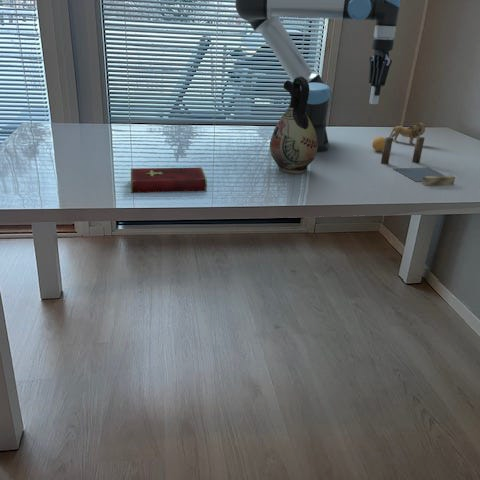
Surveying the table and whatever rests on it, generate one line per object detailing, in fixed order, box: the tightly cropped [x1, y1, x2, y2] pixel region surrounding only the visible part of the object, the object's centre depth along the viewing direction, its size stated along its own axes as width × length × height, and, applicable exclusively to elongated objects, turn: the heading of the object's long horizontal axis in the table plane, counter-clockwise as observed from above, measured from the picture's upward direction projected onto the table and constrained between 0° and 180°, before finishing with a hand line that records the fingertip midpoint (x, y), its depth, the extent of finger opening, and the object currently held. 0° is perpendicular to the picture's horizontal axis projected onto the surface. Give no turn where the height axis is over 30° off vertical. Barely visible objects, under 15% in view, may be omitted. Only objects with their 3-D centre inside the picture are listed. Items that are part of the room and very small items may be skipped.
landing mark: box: [392, 166, 445, 183], centre depth 163 cm, size 14×14×1 cm
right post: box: [411, 136, 425, 164], centre depth 174 cm, size 3×3×9 cm
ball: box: [371, 136, 386, 152], centre depth 188 cm, size 6×6×6 cm
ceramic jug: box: [269, 77, 318, 174], centre depth 154 cm, size 17×15×30 cm
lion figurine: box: [389, 122, 426, 146], centre depth 201 cm, size 15×5×9 cm, turn 68°
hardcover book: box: [130, 166, 208, 194], centre depth 141 cm, size 12×21×4 cm, turn 101°
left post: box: [380, 136, 394, 165], centre depth 171 cm, size 3×3×9 cm
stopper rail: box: [421, 174, 456, 187], centre depth 153 cm, size 10×2×2 cm, turn 104°
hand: (373, 103), depth 190 cm, fingers closed
